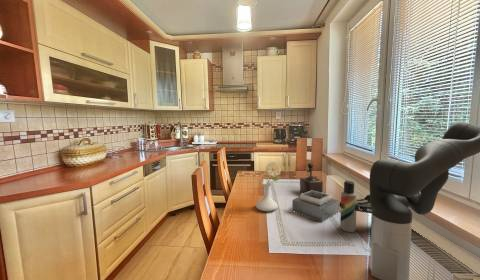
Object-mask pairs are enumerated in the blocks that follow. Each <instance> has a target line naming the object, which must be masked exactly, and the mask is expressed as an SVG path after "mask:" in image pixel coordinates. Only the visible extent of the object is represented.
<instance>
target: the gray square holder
mask: <svg viewBox="0 0 480 280" xmlns="http://www.w3.org/2000/svg"><path fill="white" fill-rule="evenodd" d="M291 203H292V205H291V206H292V210H291V211H292V212H293V211H295V212H294V213H296V212H297V213H296V214H298V213H300V214H299V215H301V214H303V215H302V216H304V215H305V216H304V217H307V216H308V217H307V218H309V217H310V218H309V219H312V218H313V219H312V220H315V219H316V220H315V221H317V220H319V221H318V222H320V221H321V222H320V223H323V221H324V222H326V221H327V220H329V219H330V218H332V217H334V216H335V215H337V214H338V212H339V213H340V200H338V199H335V198H332V195H331V194H328V193H325V192H322V193H321V192H317V191H313V190H311V191H308V192H306V193H303V194H302V193H300V194H299V196H298V197H296V198H294V199H292V202H291ZM336 213H337V214H336ZM333 215H334V216H333ZM331 216H332V217H331ZM329 217H330V218H329ZM328 218H329V219H328ZM326 219H327V220H326Z"/></svg>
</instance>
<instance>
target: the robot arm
mask: <svg viewBox="0 0 480 280" xmlns="http://www.w3.org/2000/svg"><path fill="white" fill-rule="evenodd" d="M479 153H480V126H479V125H475V124H472V123H469V122H466V121H462V120H457V121H456V122H453V124H452V125H450V126H449V127H448V129H447V130H446V131H445V133H444V134H443V136H442V138H441V139H434V140H432V141H429V142H427V143H425V144H423V145H422V146H420V147H419V148H418V149H416V151H415V154H414V162H404V161H396V160H391V159H378V160H376V161H374V162H373V164H372V165H371V168H370V171H369V194H367V195H366V196H365V197H359V198H357V203H356V206H355V210H356V212H360V213H367V214H371V226H370V227H371V233H370V253H369V254H370V256H369V257H370V259H369V269H370V272H371V276H372V277H374V278H376V279H378V280H410V265H411V248H412V247H411V245H412V244H411V243H412V229H413V228H412V227H413V226H412V225H413V213H412V211H413V212H415V213H416V214H417V215H421V216H423V215H427V214H429V213H430V212H431V211H432V210H433V209H434V206H435V203H436V199H437V197H438V193H439V192H440V191H441V189H442V188H443V187H444V185H445V184H446V183H447V182H448V179H449V177H450V176H449V175H450V173H449V172H450V171H449V170H450V169H452V168H454V167H455V166H457V165H458V164H459V163H461V162H463V161H464V160H466V159H467V158H470V157H473V156H475V155H477V154H479ZM339 208H341V201H339ZM342 208H343V209H344V208H345V205H344V204H343V203H342Z"/></svg>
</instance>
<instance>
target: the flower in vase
mask: <svg viewBox="0 0 480 280" xmlns="http://www.w3.org/2000/svg"><path fill="white" fill-rule="evenodd" d="M265 172H266V173H267V175H268V176H270V178H269V179H268V178H266V177H263V176H261V178H262V179H264V180H267V181H262V182H261V184H262V186H263V189H264V195H263V197H262V198H261V199H259V200H258V201H257V202H256V203H255V207H256V209H258V210H259V211H263V212H273V211H276V210H277V209H278V203H277V202H276V201H275V200H273V199H272V198H271V197H270V187H271V185H272V182H271V180H272V181H273V182H277V181H280V178H279V177H278V176H279V175H280V174H281V172H282V168H281V167H280V164H279V163H278V162H275V161H270V162H269V163H266V167H265Z"/></svg>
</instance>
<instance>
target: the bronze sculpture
mask: <svg viewBox="0 0 480 280" xmlns="http://www.w3.org/2000/svg"><path fill="white" fill-rule="evenodd" d="M307 167H308V170H307V171H306V173H309V176H306V177H301V178H299V192H300V194H302V193H306V192H308V191H311V190H313V191H317V192H321V193H323V183H324V182H323V181H322V180H320V179H319V178H318V177H317V176H316V175H315V176H313V173H312V172H313V171H314V170H313V168H314V164H313V163H312V162H311V163H308V164H307Z"/></svg>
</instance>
